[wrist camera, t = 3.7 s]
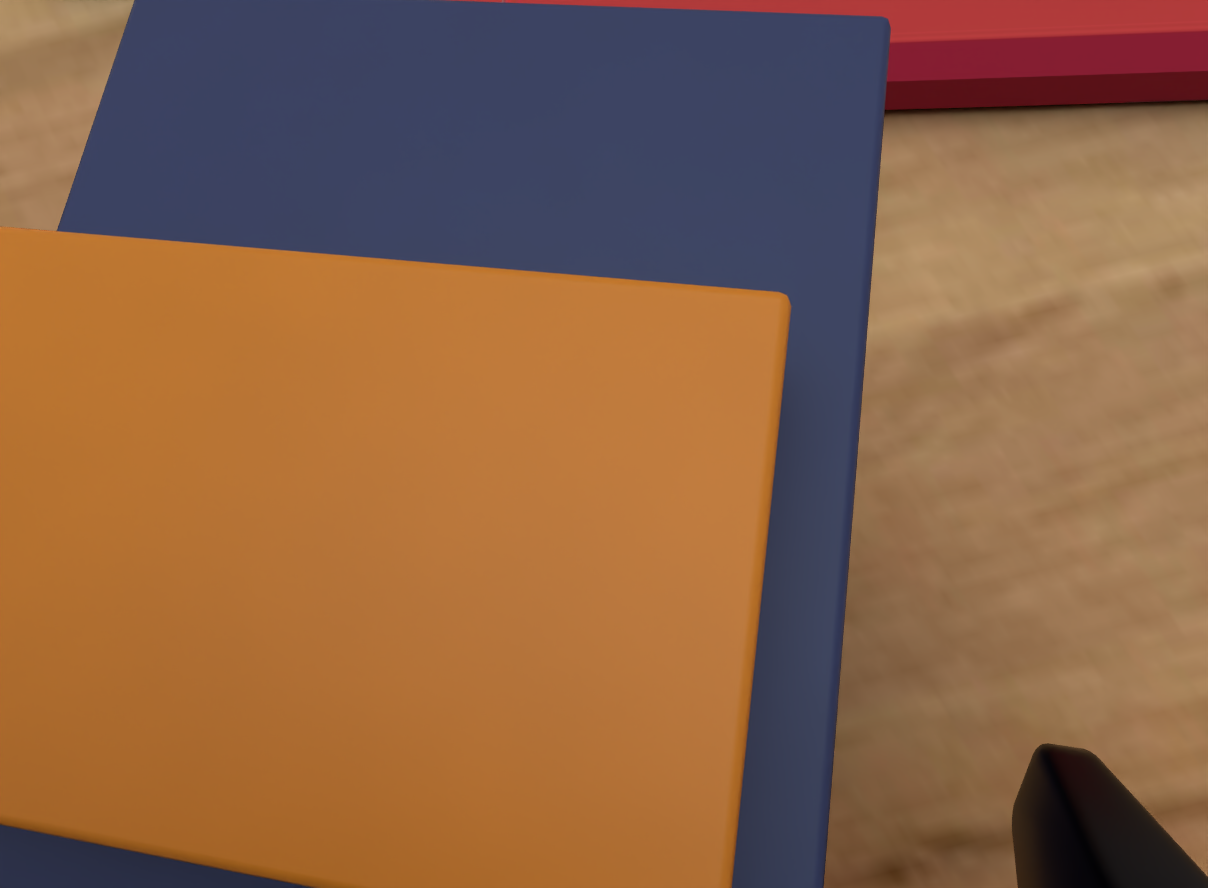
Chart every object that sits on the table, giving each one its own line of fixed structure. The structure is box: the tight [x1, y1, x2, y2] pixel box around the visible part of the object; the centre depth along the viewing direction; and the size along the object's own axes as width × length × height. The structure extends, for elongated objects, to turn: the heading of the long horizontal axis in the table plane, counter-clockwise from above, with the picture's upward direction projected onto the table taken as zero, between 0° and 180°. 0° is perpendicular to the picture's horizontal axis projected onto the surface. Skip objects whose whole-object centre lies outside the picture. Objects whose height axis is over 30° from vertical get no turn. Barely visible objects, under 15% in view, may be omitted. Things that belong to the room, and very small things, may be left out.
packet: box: [0, 0, 891, 888], centre depth 10 cm, size 6×4×14 cm
